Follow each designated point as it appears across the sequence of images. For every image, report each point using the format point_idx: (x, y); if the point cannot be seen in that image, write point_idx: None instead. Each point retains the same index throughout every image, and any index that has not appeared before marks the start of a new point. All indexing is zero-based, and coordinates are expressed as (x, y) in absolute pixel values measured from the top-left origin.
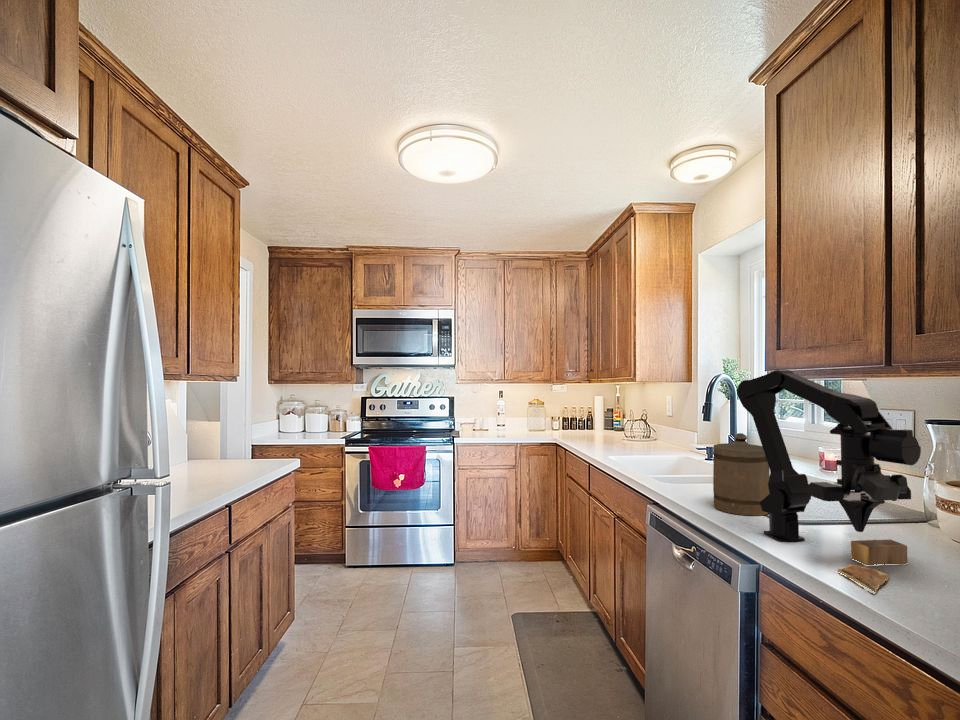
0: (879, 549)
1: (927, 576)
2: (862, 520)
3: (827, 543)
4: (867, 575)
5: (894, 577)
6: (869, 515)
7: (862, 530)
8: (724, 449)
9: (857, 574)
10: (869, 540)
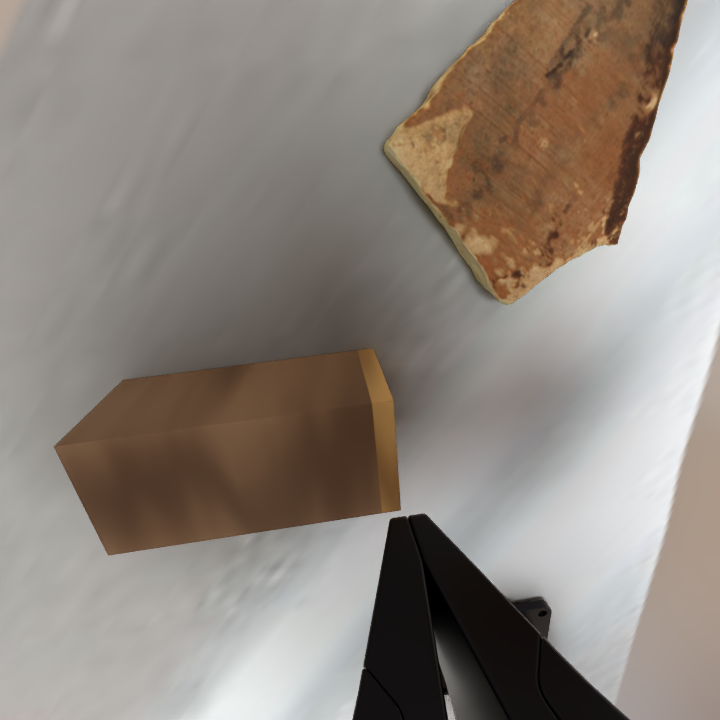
0: (287, 403)
1: (101, 200)
2: (429, 619)
3: (352, 604)
4: (562, 99)
5: (326, 182)
6: (366, 698)
7: (400, 525)
8: None
9: (607, 123)
10: (272, 525)
